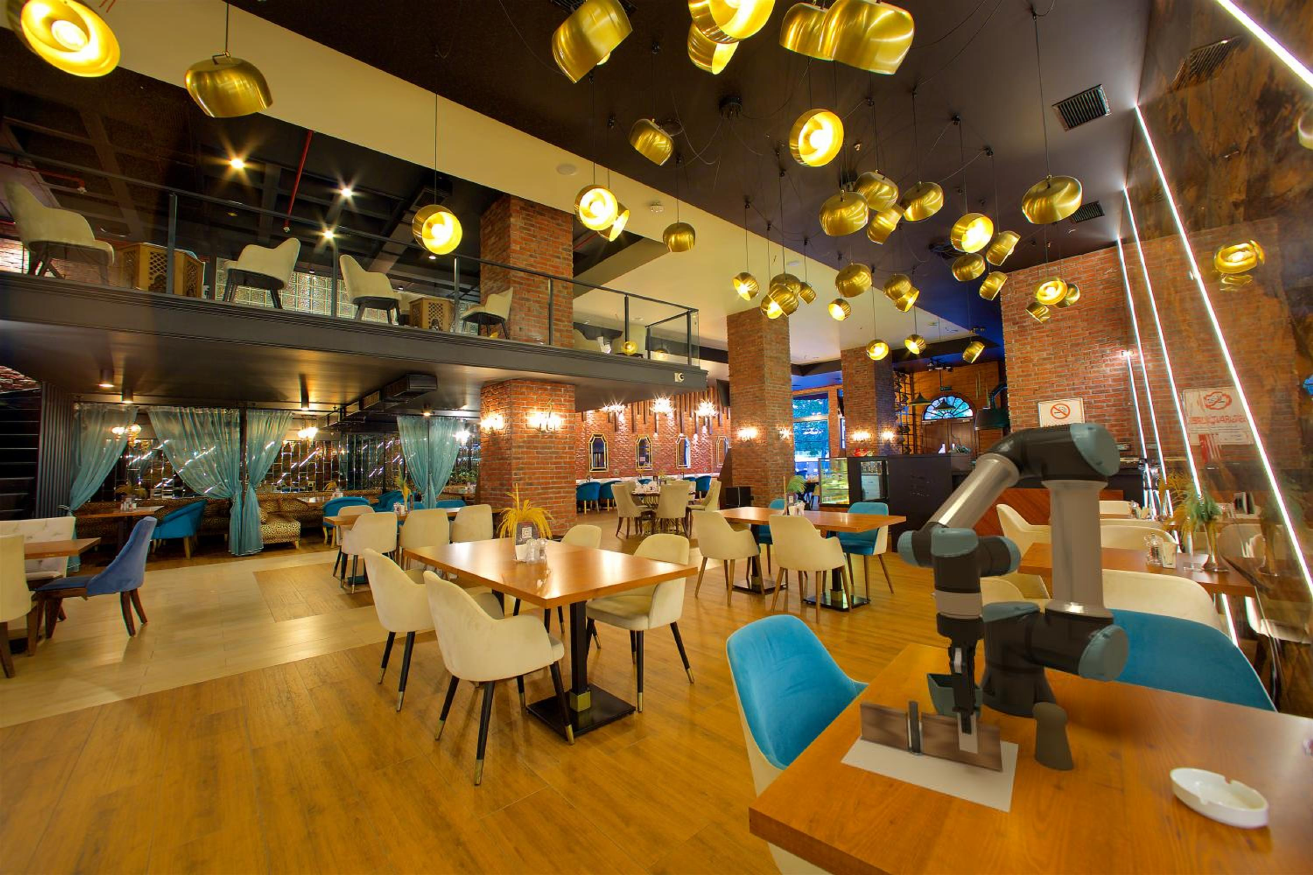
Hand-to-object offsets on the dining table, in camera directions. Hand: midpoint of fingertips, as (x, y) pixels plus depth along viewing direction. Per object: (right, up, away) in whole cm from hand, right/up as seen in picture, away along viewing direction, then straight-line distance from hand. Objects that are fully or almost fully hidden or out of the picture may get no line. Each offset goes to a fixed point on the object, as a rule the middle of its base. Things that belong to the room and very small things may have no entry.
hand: (969, 750), depth 94 cm
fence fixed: (-10, -5, +9) cm, 14 cm away
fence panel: (0, -3, +3) cm, 4 cm away
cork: (+17, -5, +2) cm, 17 cm away
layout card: (-3, -5, +6) cm, 9 cm away
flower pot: (+9, -6, +20) cm, 23 cm away
